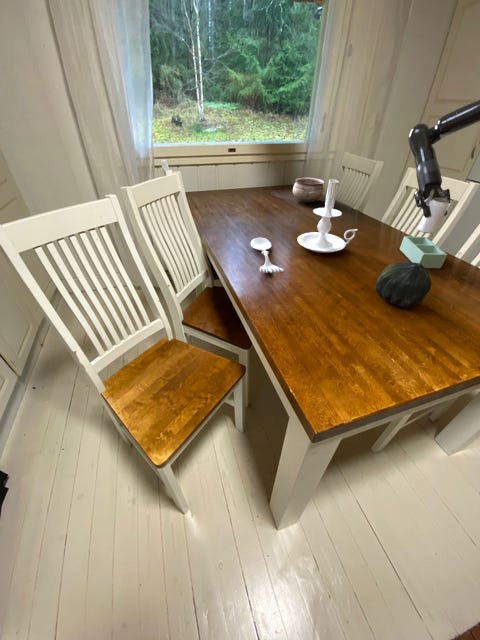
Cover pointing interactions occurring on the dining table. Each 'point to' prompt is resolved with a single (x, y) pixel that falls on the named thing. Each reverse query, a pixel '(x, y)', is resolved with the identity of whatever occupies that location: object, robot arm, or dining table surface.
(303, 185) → the cooking pot
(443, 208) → the can
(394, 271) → the squash
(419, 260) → the divided box
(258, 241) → the spoon
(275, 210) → the dining table surface
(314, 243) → the candlestick
